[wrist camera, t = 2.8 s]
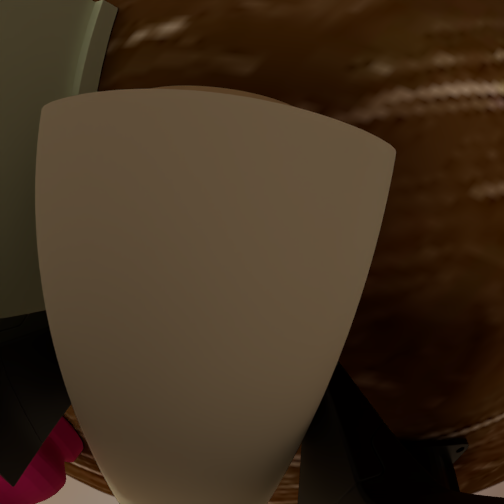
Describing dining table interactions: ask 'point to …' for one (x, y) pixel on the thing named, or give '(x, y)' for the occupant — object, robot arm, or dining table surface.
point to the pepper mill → (45, 468)
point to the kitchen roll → (201, 278)
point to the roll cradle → (37, 118)
